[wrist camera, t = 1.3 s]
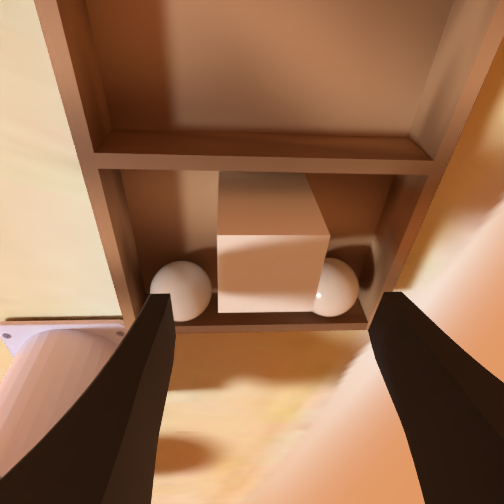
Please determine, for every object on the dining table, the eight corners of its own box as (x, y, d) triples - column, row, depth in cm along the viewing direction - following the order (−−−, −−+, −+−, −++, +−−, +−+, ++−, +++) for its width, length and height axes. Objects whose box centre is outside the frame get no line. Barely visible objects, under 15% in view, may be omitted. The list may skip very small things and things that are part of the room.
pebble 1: (213, 290, 20) (211, 333, 18) (158, 291, 20) (149, 334, 18) (212, 248, 18) (210, 290, 16) (151, 248, 18) (140, 291, 16)
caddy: (359, 292, 22) (375, 329, 20) (138, 294, 21) (127, 334, 19) (536, -210, 10) (637, -271, 7) (11, -273, 8) (-71, -370, 6)
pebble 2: (342, 286, 21) (358, 328, 18) (291, 287, 21) (300, 329, 18) (354, 245, 19) (374, 286, 16) (298, 245, 19) (309, 286, 16)
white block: (293, 241, 18) (312, 311, 15) (219, 241, 18) (218, 312, 14) (304, 172, 16) (330, 235, 12) (218, 171, 16) (216, 235, 12)
